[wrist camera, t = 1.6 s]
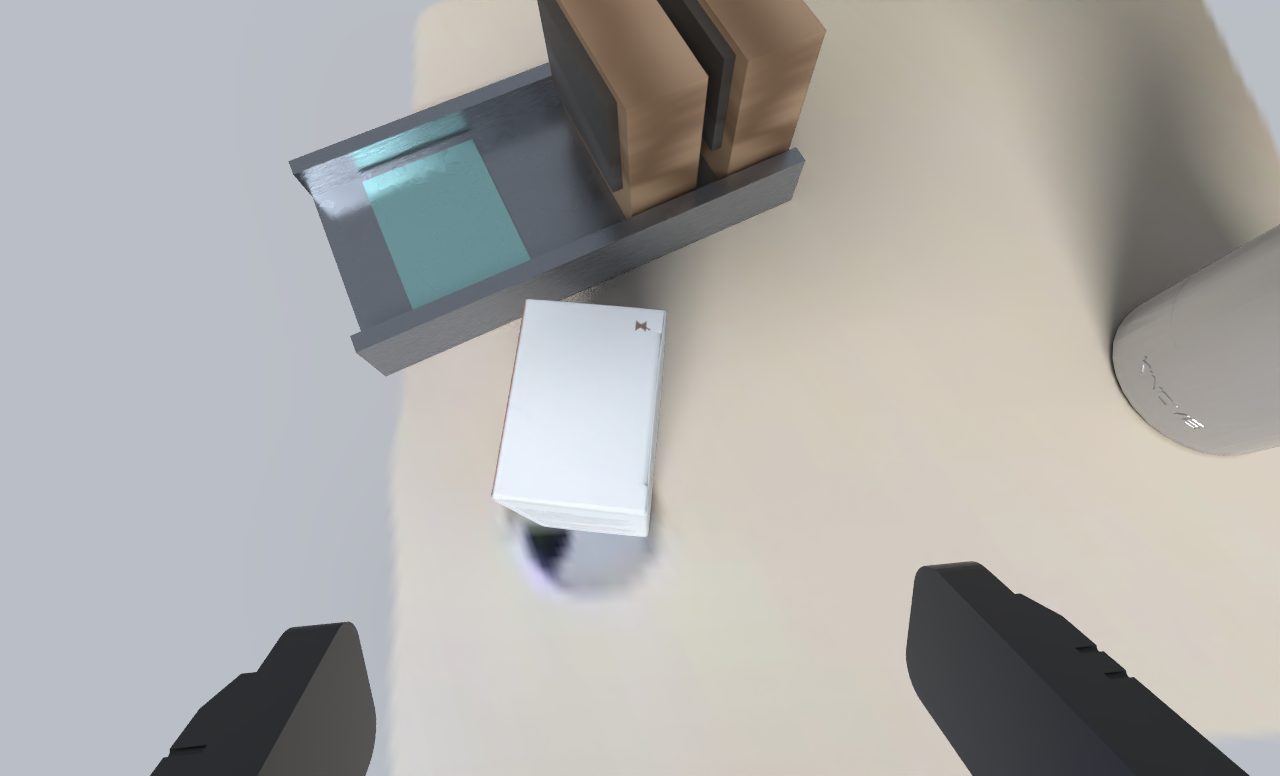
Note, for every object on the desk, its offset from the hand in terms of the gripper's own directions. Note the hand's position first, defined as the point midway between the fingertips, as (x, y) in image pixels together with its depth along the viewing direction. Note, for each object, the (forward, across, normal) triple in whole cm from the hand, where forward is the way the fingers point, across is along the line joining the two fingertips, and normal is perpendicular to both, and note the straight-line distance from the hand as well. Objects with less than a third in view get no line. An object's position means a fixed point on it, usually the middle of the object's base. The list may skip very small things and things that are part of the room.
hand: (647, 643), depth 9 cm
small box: (+22, 0, +7) cm, 23 cm away
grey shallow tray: (+32, +2, -6) cm, 32 cm away
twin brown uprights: (+32, -5, -10) cm, 33 cm away
